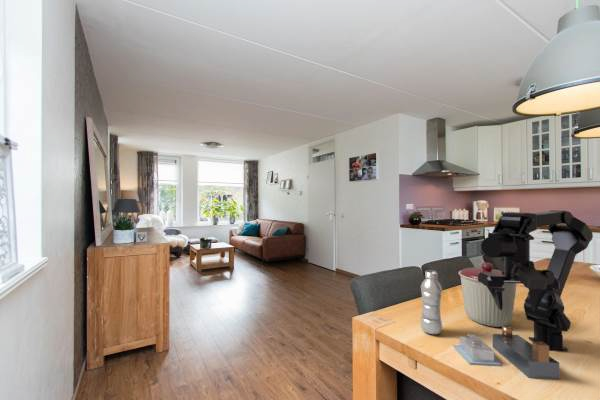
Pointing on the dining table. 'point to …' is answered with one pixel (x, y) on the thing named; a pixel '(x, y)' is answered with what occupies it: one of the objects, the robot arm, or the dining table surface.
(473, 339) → the lever cap
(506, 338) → the body
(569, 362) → the dining table surface
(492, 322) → the canister
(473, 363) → the rubber pad
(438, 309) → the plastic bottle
